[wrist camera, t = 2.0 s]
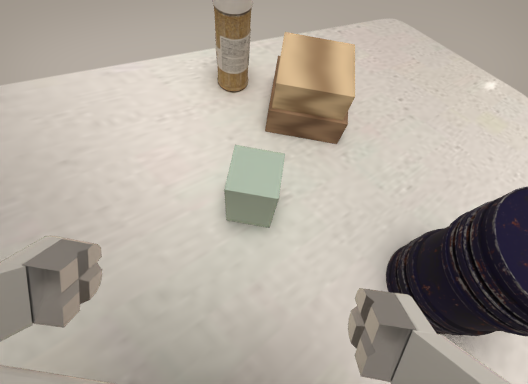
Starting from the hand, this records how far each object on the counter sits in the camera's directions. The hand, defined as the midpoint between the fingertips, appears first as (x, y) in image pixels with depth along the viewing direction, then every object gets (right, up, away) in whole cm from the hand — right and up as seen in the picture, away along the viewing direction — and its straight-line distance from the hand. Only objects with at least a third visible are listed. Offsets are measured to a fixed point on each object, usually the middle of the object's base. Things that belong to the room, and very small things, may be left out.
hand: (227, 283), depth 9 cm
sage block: (0, +1, +25) cm, 25 cm away
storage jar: (+19, -8, +23) cm, 31 cm away
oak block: (+7, +17, +29) cm, 34 cm away
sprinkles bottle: (-3, +19, +34) cm, 39 cm away
